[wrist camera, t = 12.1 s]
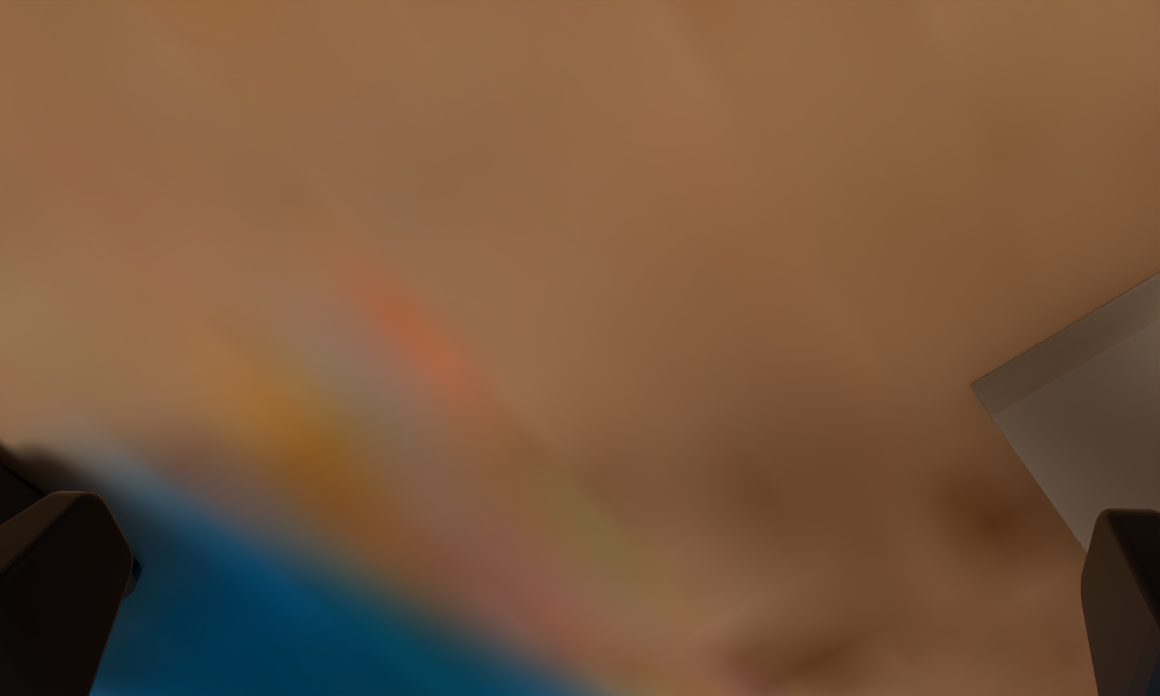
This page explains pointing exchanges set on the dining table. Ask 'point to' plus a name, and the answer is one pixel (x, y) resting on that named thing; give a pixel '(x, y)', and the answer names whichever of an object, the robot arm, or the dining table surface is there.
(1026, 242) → the dining table surface
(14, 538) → the robot arm
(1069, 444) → the grey flat square slab
